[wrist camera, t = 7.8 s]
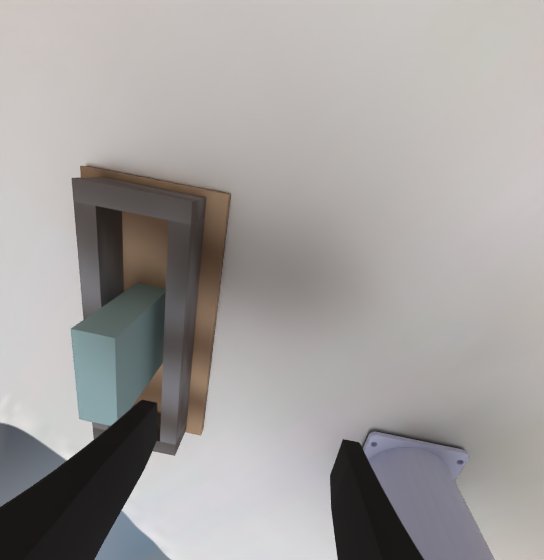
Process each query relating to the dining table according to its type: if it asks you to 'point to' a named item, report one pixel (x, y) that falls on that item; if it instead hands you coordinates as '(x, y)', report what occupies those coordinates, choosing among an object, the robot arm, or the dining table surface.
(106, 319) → the door panel
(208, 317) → the floor track
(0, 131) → the dining table surface
